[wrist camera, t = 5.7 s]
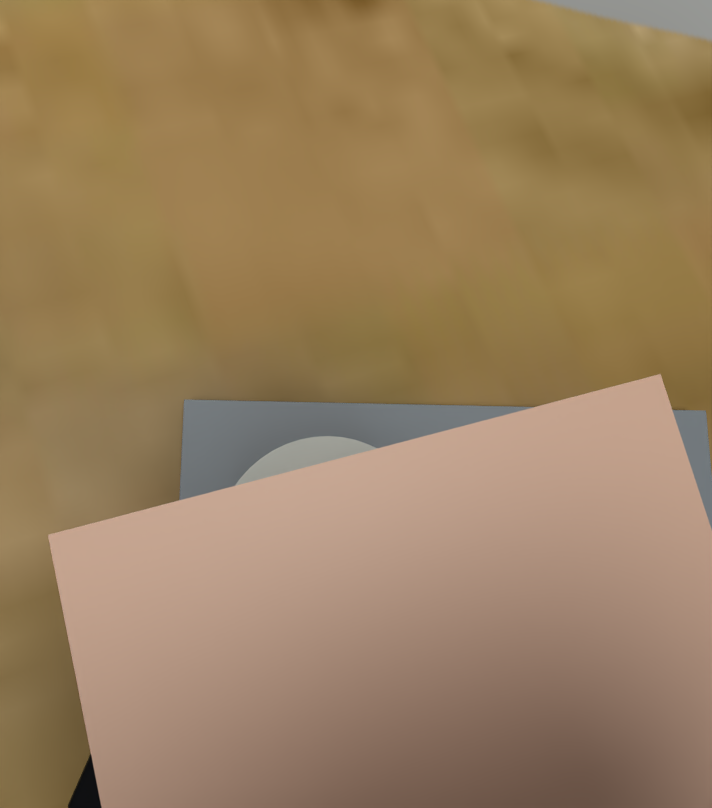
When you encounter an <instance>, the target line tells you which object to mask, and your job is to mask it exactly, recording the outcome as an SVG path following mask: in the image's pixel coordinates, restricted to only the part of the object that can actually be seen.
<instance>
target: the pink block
mask: <svg viewBox="0 0 712 808" xmlns="http://www.w3.org/2000/svg"><path fill="white" fill-rule="evenodd" d="M48 537H49V543H50V548H51V553H52V558H53V563H54V568H55V573H56V578H57V583H58V588H59V593H60V599H61V604H62V609H63V614H64V619H65V624H66V629H67V634H68V639H69V644H70V650H71V655H72V660H73V665H74V670H75V675H76V680H77V685H78V690H79V695H80V700H81V706H82V711H83V716H84V721H85V726H86V731H87V736H88V741H89V746H90V751H91V756H92V762H93V767H94V772H95V777H96V782H97V787H98V792H99V797H100V802H101V807H102V808H712V529H711V526H710V523H709V520H708V517H707V514H706V511H705V508H704V505H703V502H702V499H701V496H700V493H699V490H698V487H697V484H696V481H695V478H694V474H693V471H692V468H691V465H690V462H689V459H688V456H687V453H686V450H685V447H684V444H683V441H682V438H681V435H680V432H679V429H678V426H677V423H676V420H675V417H674V414H673V411H672V408H671V405H670V402H669V399H668V396H667V393H666V389H665V386H664V383H663V380H662V377H661V374H659V375H655V376H651V377H648V378H644V379H640V380H636V381H632V382H629V383H625V384H621V385H617V386H613V387H610V388H606V389H602V390H598V391H594V392H591V393H587V394H583V395H579V396H575V397H571V398H568V399H564V400H560V401H556V402H552V403H549V404H545V405H541V406H537V407H533V408H530V409H526V410H522V411H518V412H514V413H511V414H507V415H503V416H499V417H495V418H492V419H488V420H484V421H480V422H476V423H472V424H469V425H465V426H461V427H457V428H453V429H450V430H446V431H442V432H438V433H434V434H431V435H427V436H423V437H419V438H415V439H412V440H408V441H404V442H400V443H396V444H392V445H389V446H385V447H381V448H377V449H373V450H370V451H366V452H362V453H358V454H354V455H351V456H347V457H343V458H339V459H335V460H332V461H328V462H324V463H320V464H316V465H312V466H309V467H305V468H301V469H297V470H293V471H290V472H286V473H282V474H278V475H274V476H271V477H267V478H263V479H259V480H255V481H252V482H248V483H244V484H240V485H236V486H233V487H229V488H225V489H221V490H217V491H213V492H210V493H206V494H202V495H198V496H194V497H191V498H187V499H183V500H179V501H175V502H172V503H168V504H164V505H160V506H156V507H153V508H149V509H145V510H141V511H137V512H133V513H130V514H126V515H122V516H118V517H114V518H111V519H107V520H103V521H99V522H95V523H92V524H88V525H84V526H80V527H76V528H73V529H69V530H65V531H61V532H57V533H54V534H50V535H48Z"/></svg>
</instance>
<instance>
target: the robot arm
mask: <svg viewBox="0 0 712 808" xmlns="http://www.w3.org/2000/svg"><path fill="white" fill-rule="evenodd" d="M68 808H102V807H101V802H100V797H99V792H98V787H97V782H96V777H95V772H94V767H93V762H92V756H91V754H90V756H89V758H88V761H87V763H86V765H85V768H84V770H83V772H82V774H81V777H80V779H79V781H78V783H77V786H76V788H75V790H74V793H73V795H72V797H71V799H70V802H69V804H68Z"/></svg>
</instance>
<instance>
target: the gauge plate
mask: <svg viewBox="0 0 712 808" xmlns="http://www.w3.org/2000/svg"><path fill="white" fill-rule="evenodd" d="M530 408H533V407H505V406H458V405H411V404H364V403H317V402H270V401H223V400H184V415H183V437H182V458H181V479H180V500H183V499H187V498H191V497H194V496H198V495H202V494H206V493H210V492H213V491H217V490H221V489H225V488H229V487H233V486H236V485H240V484H244V483H248V482H252V481H255V480H259V479H263V478H267V477H271V476H274V475H278V474H282V473H286V472H290V471H293V470H297V469H301V468H305V467H309V466H312V465H316V464H320V463H324V462H328V461H332V460H335V459H339V458H343V457H347V456H351V455H354V454H358V453H362V452H366V451H370V450H373V449H377V448H381V447H385V446H389V445H392V444H396V443H400V442H404V441H408V440H412V439H415V438H419V437H423V436H427V435H431V434H434V433H438V432H442V431H446V430H450V429H453V428H457V427H461V426H465V425H469V424H472V423H476V422H480V421H484V420H488V419H492V418H495V417H499V416H503V415H507V414H511V413H514V412H518V411H522V410H526V409H530ZM672 411H673V414H674V417H675V420H676V423H677V426H678V429H679V432H680V435H681V438H682V441H683V444H684V447H685V450H686V453H687V456H688V459H689V462H690V465H691V468H692V471H693V474H694V478H695V481H696V484H697V487H698V490H699V493H700V496H701V499H702V502H703V505H704V508H705V511H706V514H707V517H708V520H709V523H710V526H711V529H712V475H711V463H710V452H709V441H708V430H707V418H706V411H693V410H672Z"/></svg>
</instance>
